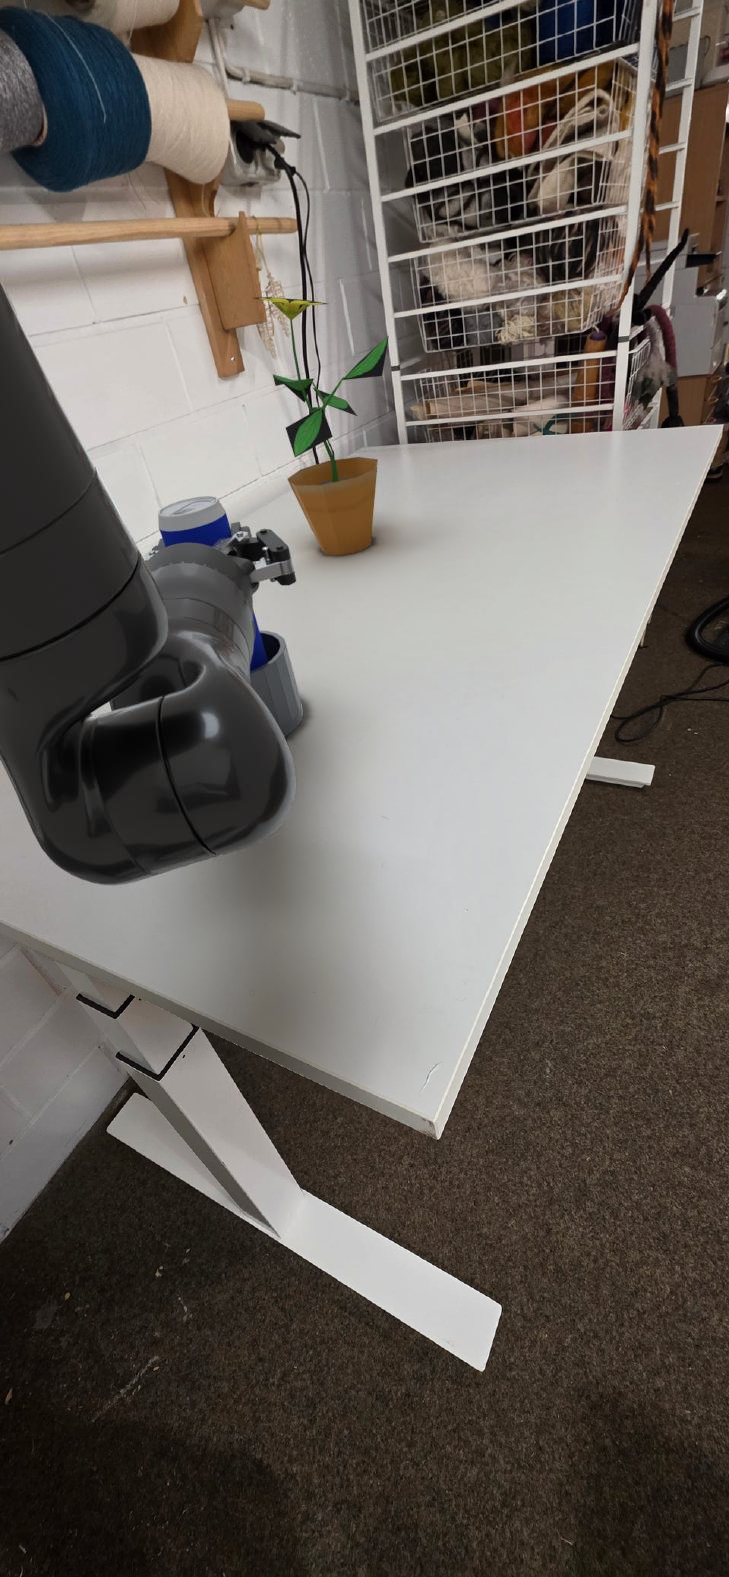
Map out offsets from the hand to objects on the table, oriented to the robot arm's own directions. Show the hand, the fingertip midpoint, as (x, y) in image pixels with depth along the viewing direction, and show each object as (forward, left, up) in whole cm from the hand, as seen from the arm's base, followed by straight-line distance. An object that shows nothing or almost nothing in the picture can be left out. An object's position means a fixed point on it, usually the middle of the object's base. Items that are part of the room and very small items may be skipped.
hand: (203, 542), depth 54 cm
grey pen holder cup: (0, -2, -16) cm, 16 cm away
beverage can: (0, -3, -12) cm, 12 cm away
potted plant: (+18, +39, -16) cm, 45 cm away
